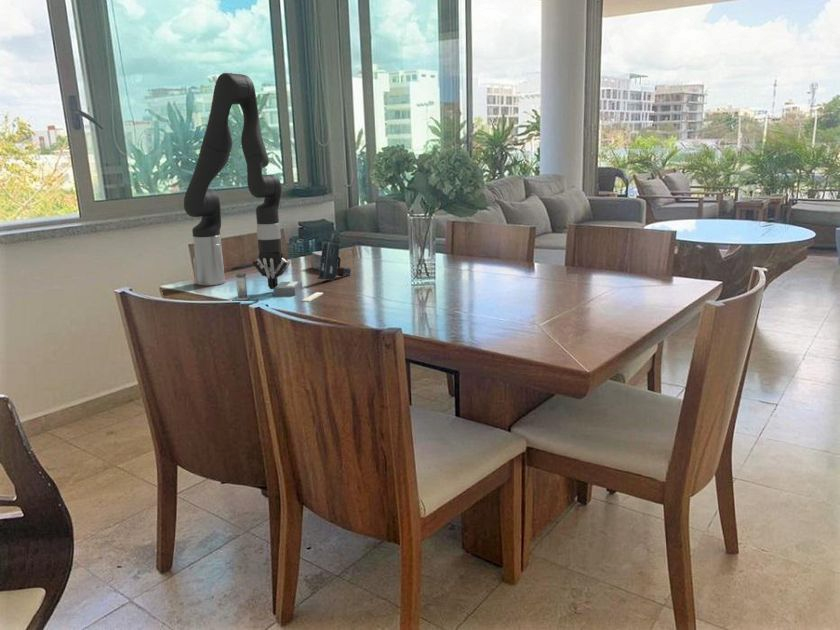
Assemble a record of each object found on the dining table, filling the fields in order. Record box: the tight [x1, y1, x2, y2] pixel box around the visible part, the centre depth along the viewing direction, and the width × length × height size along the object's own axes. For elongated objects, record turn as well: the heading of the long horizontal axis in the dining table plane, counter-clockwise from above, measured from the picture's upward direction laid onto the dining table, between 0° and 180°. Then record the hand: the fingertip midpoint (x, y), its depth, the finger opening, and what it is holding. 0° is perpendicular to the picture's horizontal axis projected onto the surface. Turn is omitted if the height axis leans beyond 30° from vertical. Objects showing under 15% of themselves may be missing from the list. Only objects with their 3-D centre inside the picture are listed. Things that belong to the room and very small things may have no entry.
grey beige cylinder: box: [234, 273, 250, 301], centre depth 207 cm, size 4×4×8 cm
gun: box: [317, 232, 352, 281], centre depth 234 cm, size 3×17×15 cm
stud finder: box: [273, 280, 303, 297], centre depth 216 cm, size 7×10×4 cm
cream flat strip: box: [301, 291, 324, 303], centre depth 207 cm, size 2×11×1 cm, turn 165°
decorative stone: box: [310, 250, 338, 272], centre depth 253 cm, size 15×7×10 cm
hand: (273, 288), depth 217 cm, fingers closed
